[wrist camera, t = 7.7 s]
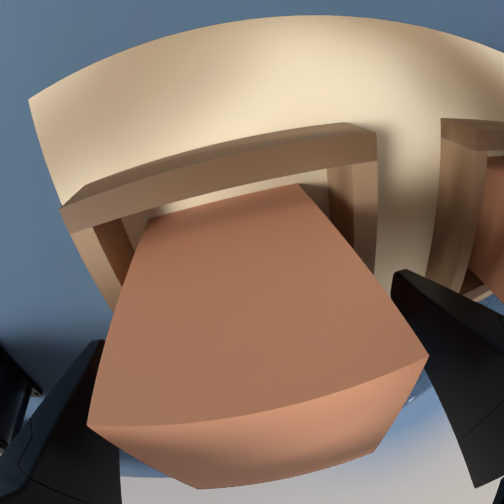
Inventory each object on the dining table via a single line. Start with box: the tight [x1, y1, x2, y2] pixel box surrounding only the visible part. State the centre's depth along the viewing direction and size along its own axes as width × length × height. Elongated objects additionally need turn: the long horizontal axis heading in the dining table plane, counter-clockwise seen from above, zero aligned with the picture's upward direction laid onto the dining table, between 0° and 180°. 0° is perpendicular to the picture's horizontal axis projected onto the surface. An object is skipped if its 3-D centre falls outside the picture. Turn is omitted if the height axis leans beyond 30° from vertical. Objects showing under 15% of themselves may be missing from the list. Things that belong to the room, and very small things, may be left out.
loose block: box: [87, 183, 429, 489], centre depth 7 cm, size 5×5×7 cm
